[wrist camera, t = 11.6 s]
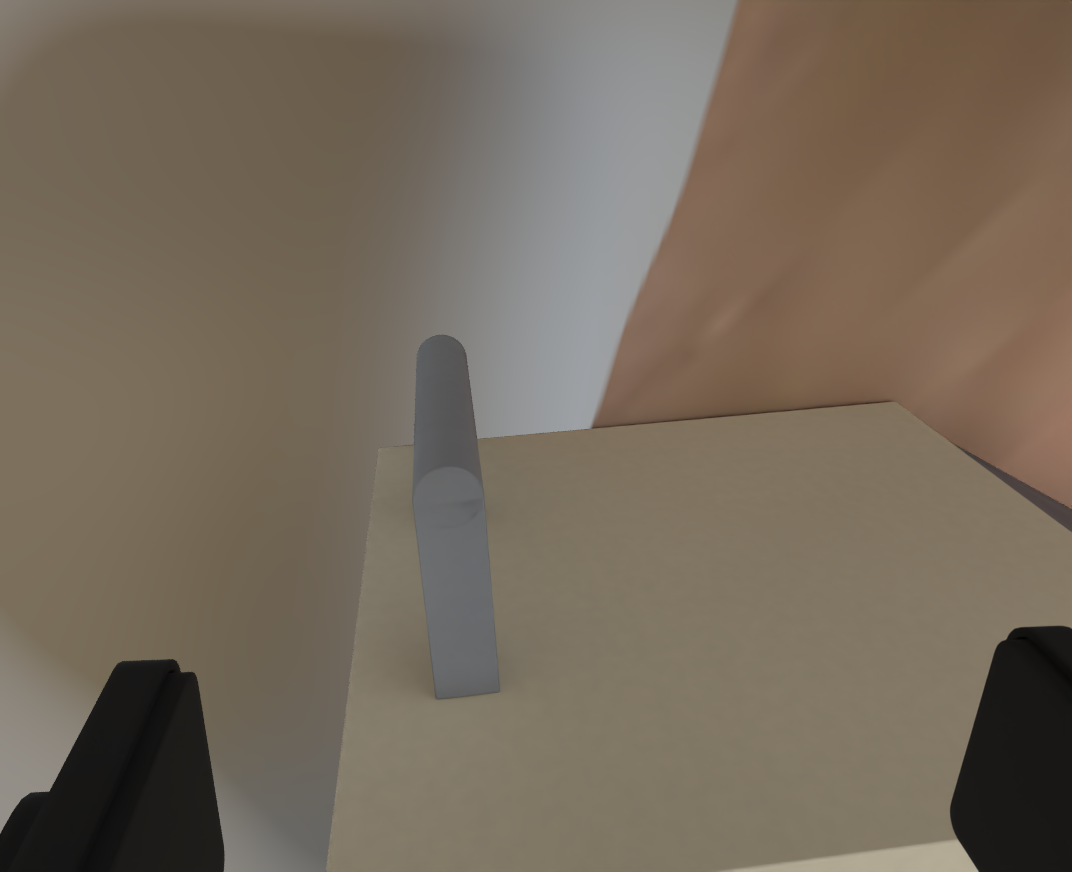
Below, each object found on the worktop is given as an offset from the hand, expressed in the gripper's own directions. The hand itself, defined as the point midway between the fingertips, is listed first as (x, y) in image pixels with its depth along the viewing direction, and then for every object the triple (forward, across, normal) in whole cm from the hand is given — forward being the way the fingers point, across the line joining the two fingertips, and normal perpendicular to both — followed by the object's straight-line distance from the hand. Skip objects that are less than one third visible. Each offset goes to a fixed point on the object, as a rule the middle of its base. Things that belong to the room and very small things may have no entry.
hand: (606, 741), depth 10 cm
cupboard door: (+26, -6, +4) cm, 27 cm away
